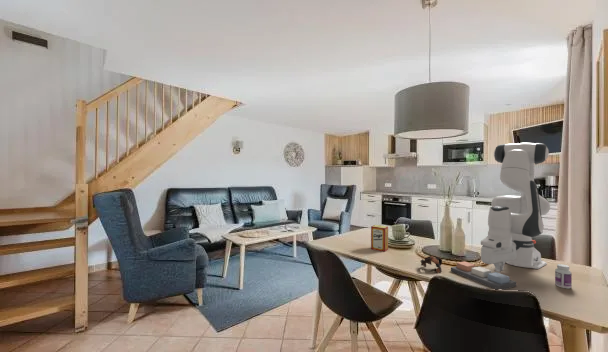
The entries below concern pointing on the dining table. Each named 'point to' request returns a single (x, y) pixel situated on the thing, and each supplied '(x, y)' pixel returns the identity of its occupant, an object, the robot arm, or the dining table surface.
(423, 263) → the brown black arched toy
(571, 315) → the dining table surface
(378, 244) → the baking soda box
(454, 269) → the button panel
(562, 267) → the pill bottle
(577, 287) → the dining table surface
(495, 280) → the slate button
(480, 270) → the cream button
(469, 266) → the terracotta button
